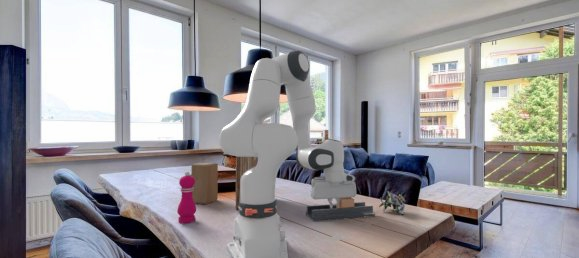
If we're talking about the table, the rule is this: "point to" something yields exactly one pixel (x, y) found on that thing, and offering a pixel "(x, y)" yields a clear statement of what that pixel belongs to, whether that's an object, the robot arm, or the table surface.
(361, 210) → the chute
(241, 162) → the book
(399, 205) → the grey-green leafy rounded clump
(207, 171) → the wooden block
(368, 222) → the table surface
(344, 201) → the block
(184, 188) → the pepper mill
